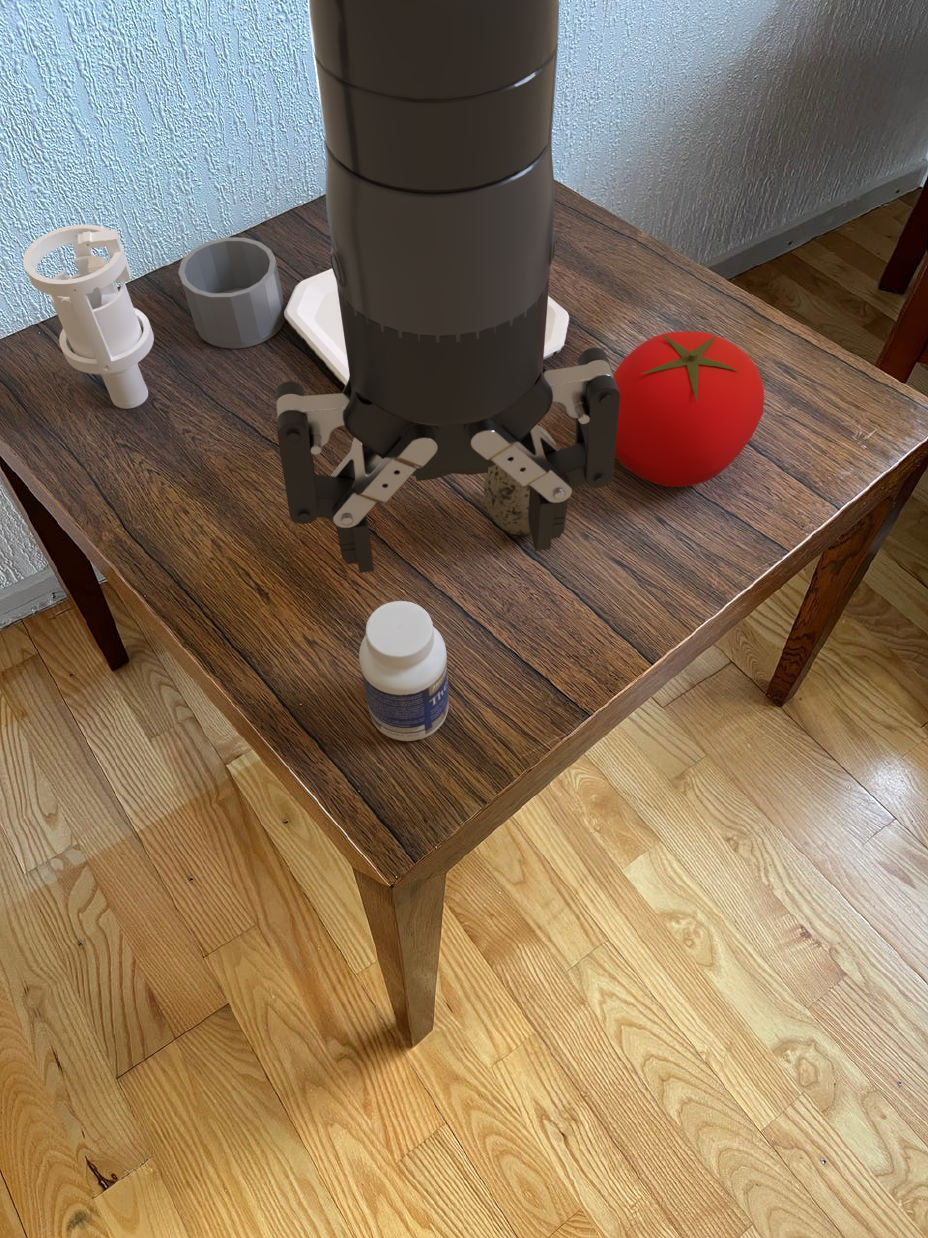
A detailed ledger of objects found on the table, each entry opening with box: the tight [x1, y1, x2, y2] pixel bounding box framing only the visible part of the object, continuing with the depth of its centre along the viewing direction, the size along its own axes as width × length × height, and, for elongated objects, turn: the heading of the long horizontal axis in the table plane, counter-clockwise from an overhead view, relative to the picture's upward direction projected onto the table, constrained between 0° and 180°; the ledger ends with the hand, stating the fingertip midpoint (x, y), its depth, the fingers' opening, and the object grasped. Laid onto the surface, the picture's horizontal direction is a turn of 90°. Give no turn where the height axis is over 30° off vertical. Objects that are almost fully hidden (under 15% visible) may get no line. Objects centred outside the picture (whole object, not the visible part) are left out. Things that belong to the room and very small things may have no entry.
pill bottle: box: [358, 600, 450, 742], centre depth 60 cm, size 5×5×10 cm
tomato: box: [613, 330, 765, 488], centre depth 72 cm, size 11×12×10 cm
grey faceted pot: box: [178, 237, 286, 350], centre depth 85 cm, size 8×8×6 cm
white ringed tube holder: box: [22, 224, 155, 410], centre depth 75 cm, size 7×7×15 cm
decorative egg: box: [483, 424, 557, 537], centre depth 69 cm, size 6×6×10 cm
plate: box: [284, 268, 570, 387], centre depth 85 cm, size 21×21×2 cm
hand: (452, 547), depth 47 cm, fingers open, 8 cm apart
